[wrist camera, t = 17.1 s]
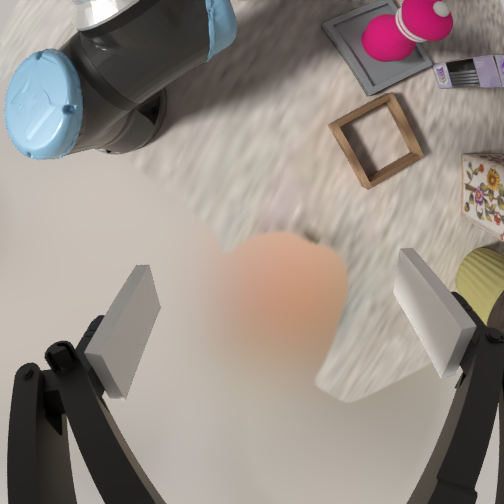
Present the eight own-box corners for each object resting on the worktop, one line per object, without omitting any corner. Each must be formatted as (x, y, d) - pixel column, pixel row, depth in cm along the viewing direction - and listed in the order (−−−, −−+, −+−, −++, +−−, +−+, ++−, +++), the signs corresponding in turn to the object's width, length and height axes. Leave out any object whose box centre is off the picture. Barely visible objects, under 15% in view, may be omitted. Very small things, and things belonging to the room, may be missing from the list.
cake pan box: (434, 92, 40) (501, 88, 24) (424, 64, 38) (489, 48, 22) (506, 81, 37) (570, 82, 20) (498, 56, 35) (561, 50, 19)
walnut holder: (327, 124, 44) (331, 124, 41) (385, 93, 41) (392, 92, 38) (362, 185, 47) (367, 190, 44) (415, 154, 44) (424, 156, 42)
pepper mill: (404, 65, 38) (479, 44, 19) (362, 64, 38) (423, 33, 20) (396, 24, 35) (463, -15, 17) (353, 22, 36) (406, -29, 17)
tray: (321, 26, 37) (323, 22, 35) (384, 0, 34) (389, -4, 32) (367, 95, 41) (371, 95, 39) (427, 66, 38) (432, 64, 36)
